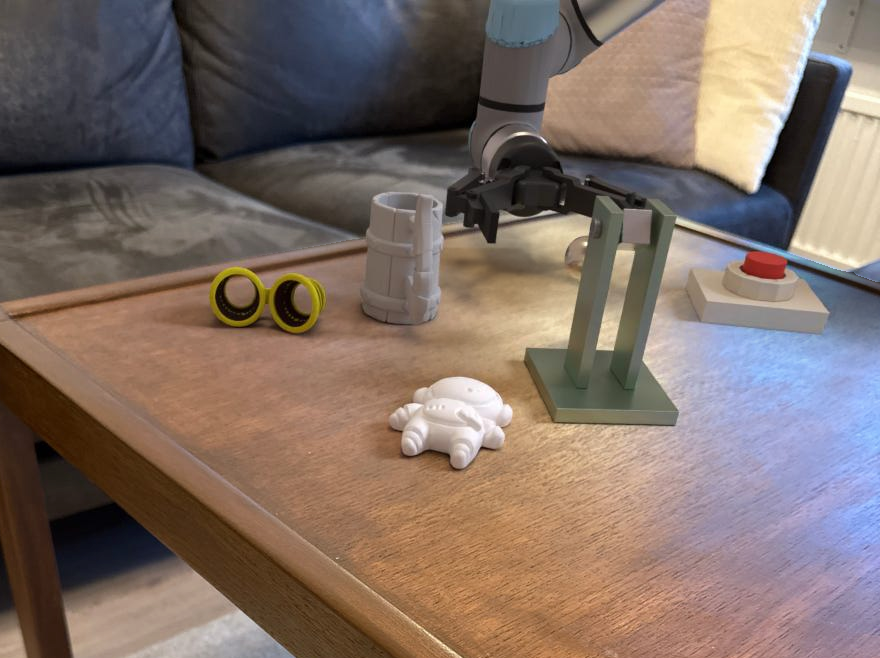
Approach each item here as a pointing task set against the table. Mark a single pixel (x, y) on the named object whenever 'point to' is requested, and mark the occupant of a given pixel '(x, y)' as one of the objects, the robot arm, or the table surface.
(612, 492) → the table surface
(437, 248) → the mug
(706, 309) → the box
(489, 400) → the astronaut figurine
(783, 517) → the table surface
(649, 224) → the lever
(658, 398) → the bracket
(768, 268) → the button
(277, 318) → the opera glasses
